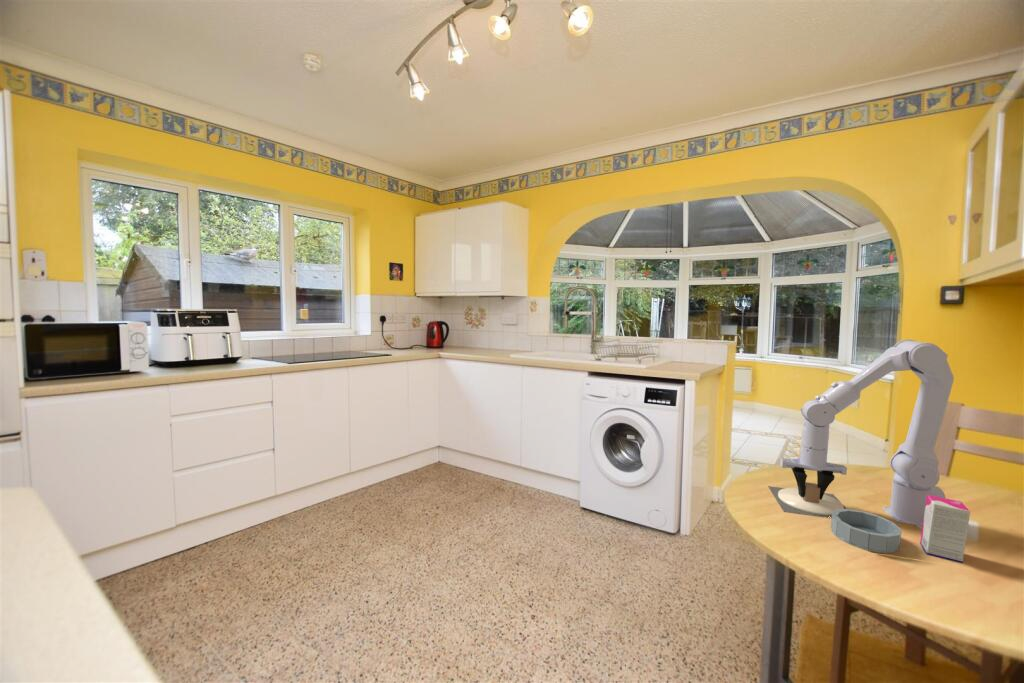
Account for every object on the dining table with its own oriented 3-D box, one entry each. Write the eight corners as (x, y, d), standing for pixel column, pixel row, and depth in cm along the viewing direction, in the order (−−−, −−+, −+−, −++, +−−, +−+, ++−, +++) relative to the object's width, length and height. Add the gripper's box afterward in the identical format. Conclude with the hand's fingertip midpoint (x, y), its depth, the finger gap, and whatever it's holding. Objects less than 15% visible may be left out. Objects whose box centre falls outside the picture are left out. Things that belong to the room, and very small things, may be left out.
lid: (830, 495, 122) (832, 478, 122) (853, 519, 108) (855, 500, 108) (771, 487, 126) (773, 471, 126) (786, 510, 113) (788, 492, 112)
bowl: (882, 530, 104) (884, 513, 104) (911, 558, 93) (913, 540, 93) (823, 521, 108) (824, 505, 108) (843, 548, 97) (845, 530, 96)
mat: (833, 495, 123) (833, 494, 123) (858, 523, 107) (858, 521, 107) (767, 487, 127) (768, 486, 127) (783, 512, 112) (783, 511, 112)
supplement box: (964, 564, 91) (971, 511, 90) (925, 555, 94) (931, 503, 93) (955, 551, 96) (961, 500, 95) (919, 542, 99) (924, 493, 98)
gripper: (840, 444, 118) (836, 494, 119) (778, 439, 122) (775, 486, 123) (852, 453, 111) (847, 505, 112) (786, 447, 115) (782, 497, 116)
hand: (810, 496), depth 117 cm, fingers open, 3 cm apart
